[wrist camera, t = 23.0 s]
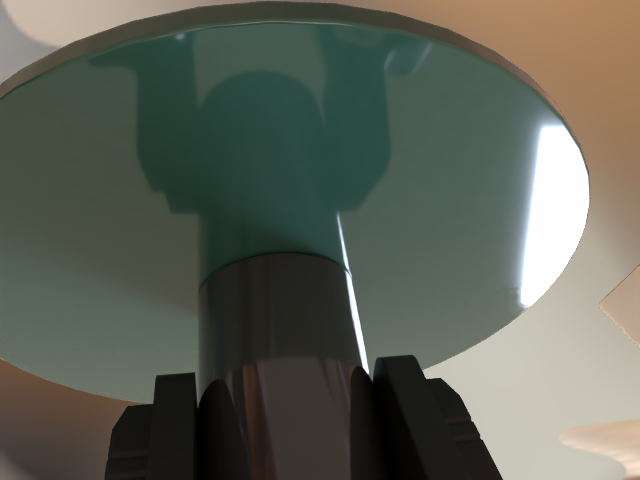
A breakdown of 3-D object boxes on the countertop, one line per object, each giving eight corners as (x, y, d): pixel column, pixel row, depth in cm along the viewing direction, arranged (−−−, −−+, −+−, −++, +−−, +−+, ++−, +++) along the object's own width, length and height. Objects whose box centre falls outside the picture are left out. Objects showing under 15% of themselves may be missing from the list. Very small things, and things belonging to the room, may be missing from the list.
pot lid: (-97, 342, 15) (-209, 683, 11) (-1, -264, 6) (-487, 431, 2) (345, 394, 22) (380, 612, 18) (699, 157, 13) (937, 489, 9)
